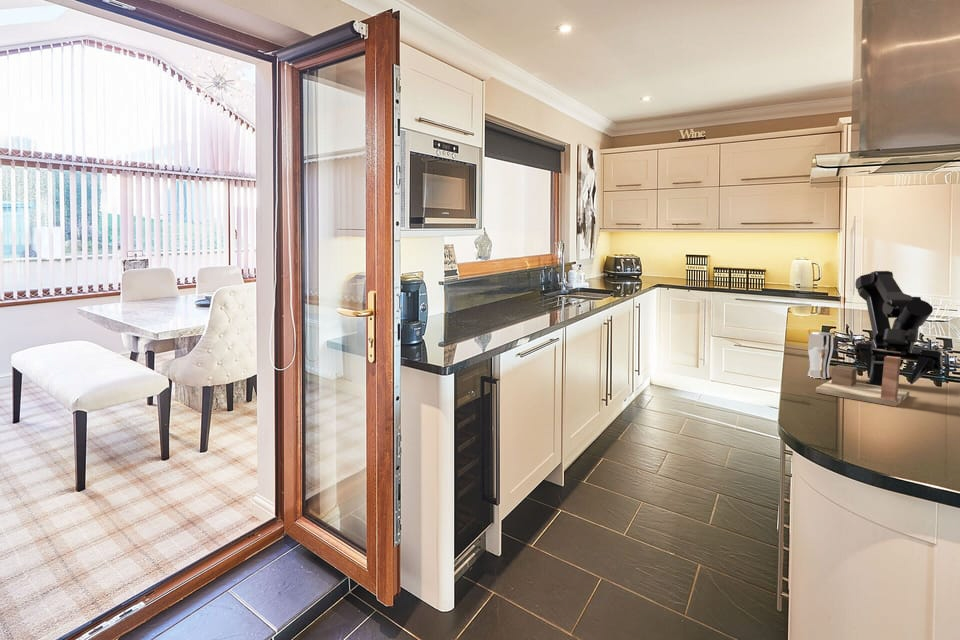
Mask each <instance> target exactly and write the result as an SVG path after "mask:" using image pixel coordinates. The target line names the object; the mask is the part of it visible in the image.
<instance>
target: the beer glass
mask: <svg viewBox="0 0 960 640" xmlns="http://www.w3.org/2000/svg"><path fill="white" fill-rule="evenodd" d="M807 346H808V347H807V352H808V358H809V359H808V360H809V369H808V372H807V377H808V376H810V377H809V378H811V377H813V378H812V379H815V378H821V379H820V380H827V379H826V378H829V379H830V372H829V371H830V369H829V368H830V362H831V360H832V355H833V352H834V333H831V332H828V331H827V332H826V331H825V332H824V331H811V332H809V337H808V344H807Z"/></svg>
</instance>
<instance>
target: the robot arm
mask: <svg viewBox="0 0 960 640" xmlns="http://www.w3.org/2000/svg"><path fill="white" fill-rule="evenodd" d="M854 285H855V289H856V290H857V293H858V296H859V297H861V298H862V299H863V300H864V301H866V306H867V310H868V311H867V312H868V316H869V322H870V327H871V332H872V336H873V337H872V338H873V339H872V340H871V342H869V343H867V342H857V343H856V344H855V345H854V347H853V350H854V354H855V357H856V360H858V361H860V362H861V363H863V364H865V365H866V367H865V368H866V374H867V378H868V380H866V381H865V384H869V385H876V386H882V378H883V367H884V357H886V356H892V357H901V363H900V368H902V367H903V363H904V361H908V362H917V363H916V365H915V367H914V370H913V371H912V374H911V376H910V381H909V384H910V385H913V384H914V383H916V382H917V381H918V380H919V379H920V378H921V377H923V376H924V375H926V374H928V373H929V372H931V373H933V372H935V371H940V370H942V368H943V364H944V362H943V361H944V360H943V359H944V358H943V352H942V351H940V350H938V349H937V350H936V349H927V348H922V349H921V351H920V353H915V352H914V353H913V349H914V347H915V343H917V342H918V337H919V328H920V327H922V326H923V325H924V323H926V321H927V320H928V318H929V317H930V315H931V314H932V313H933V311H934V310H933V309H934V307H933V306H932V305H931V304H930V303H929V302H928V301H926V300H922V299H921V296H912V295H911V294H910V295H909V294H907V293H904V292H903V291H902V289H901V287H900V286H899V284H898V283H897V281H896V280H895V278H894V273H893V271H890V270H874V271H872V272H870V273H868V274H862V275H860V276H859V277H857V278H856V280H855V284H854ZM890 319H894V320H893V324H892V325H891V323H890ZM891 326H892V327H891Z"/></svg>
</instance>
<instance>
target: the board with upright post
mask: <svg viewBox="0 0 960 640" xmlns="http://www.w3.org/2000/svg"><path fill="white" fill-rule="evenodd" d="M900 363H901V357H892V356H886V357H884V367H883V378H882V386H881V385H875V384H868V383H862V382H856V384H854V385H853V386H851V387H850V386H844V385H838V384H831V382H832V379H830V380H828V381H826V382H824V383H823V384H820V385H818V386H817V387H815V393H817V394H823V395H827V396H828V395H829V396H834V397H840V398H843V399H844V398H845V399H852V400H855V401H863V402H869V403H874V404H881V405H886V406H891V407H897V406H899V404H901V403H902V402H903V401H904V400H906V399H907V398H909V396H910V390H906V389H902V388H899V385H900V384H899V383H900V372H901V367H900Z"/></svg>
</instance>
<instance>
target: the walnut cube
mask: <svg viewBox="0 0 960 640" xmlns="http://www.w3.org/2000/svg"><path fill="white" fill-rule="evenodd" d="M857 373H858V367H855V366H854V367H853V366H847V365H839V364H837V365H834V366H833V367H832V370H831V380H832V382H831V384H838V385H844V386H850V387H851V386H853V385H854V384H856V383H857V375H858V374H857Z"/></svg>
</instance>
